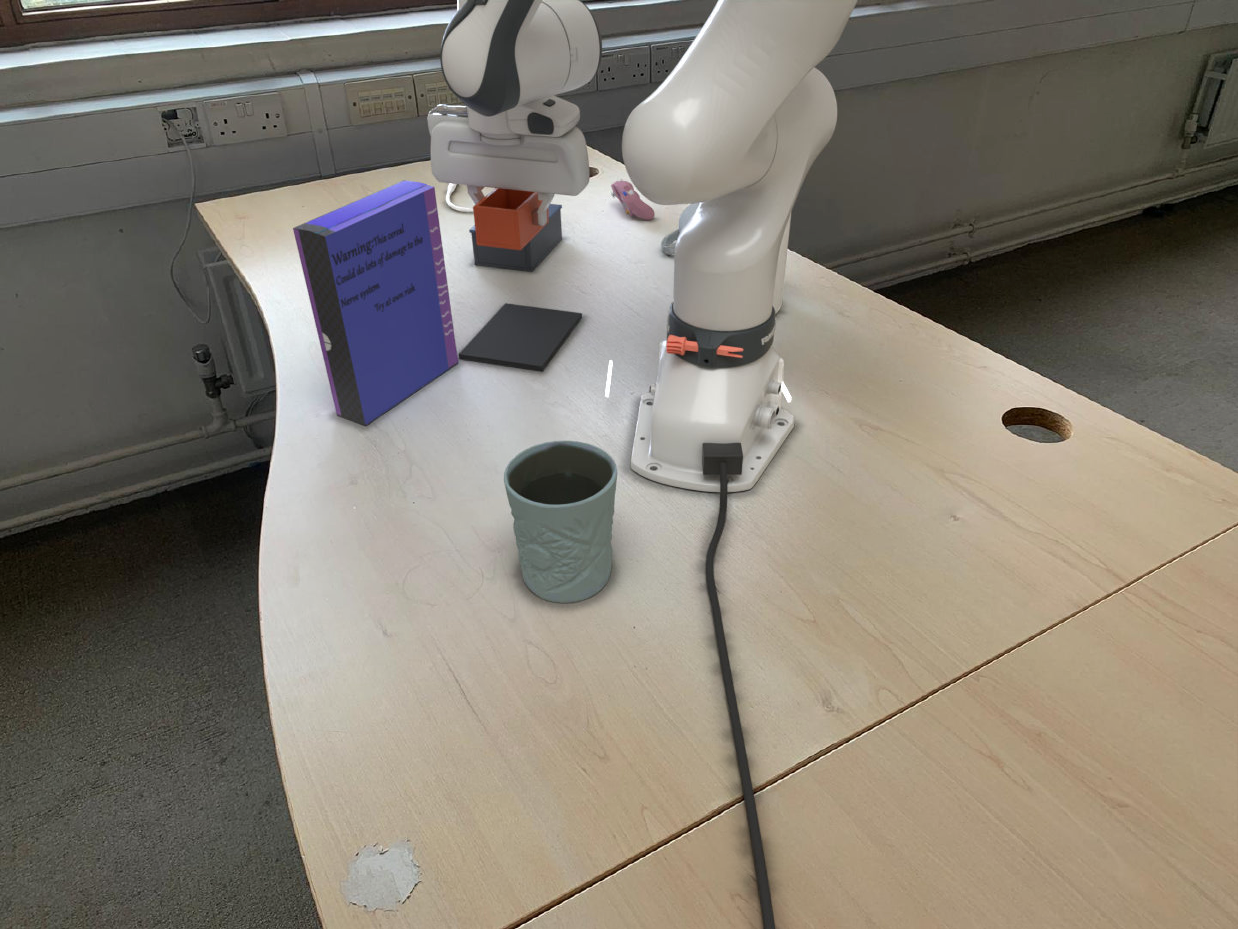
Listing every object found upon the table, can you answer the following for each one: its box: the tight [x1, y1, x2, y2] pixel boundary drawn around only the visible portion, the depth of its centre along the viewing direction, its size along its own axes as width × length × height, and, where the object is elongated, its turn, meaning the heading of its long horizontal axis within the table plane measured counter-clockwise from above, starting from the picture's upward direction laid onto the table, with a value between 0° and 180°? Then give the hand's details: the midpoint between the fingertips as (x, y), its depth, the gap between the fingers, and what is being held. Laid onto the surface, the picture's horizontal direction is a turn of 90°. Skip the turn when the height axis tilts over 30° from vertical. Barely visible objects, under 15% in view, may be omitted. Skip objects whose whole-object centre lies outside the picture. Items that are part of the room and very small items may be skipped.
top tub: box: [472, 188, 549, 250], centre depth 115 cm, size 10×6×5 cm, turn 163°
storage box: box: [468, 203, 563, 272], centre depth 148 cm, size 14×10×6 cm
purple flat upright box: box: [292, 179, 459, 427], centre depth 108 cm, size 17×5×24 cm, turn 149°
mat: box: [458, 302, 583, 372], centre depth 125 cm, size 16×12×1 cm
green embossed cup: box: [503, 440, 618, 604], centre depth 83 cm, size 10×10×12 cm
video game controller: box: [610, 178, 655, 221], centre depth 162 cm, size 10×5×7 cm, turn 17°
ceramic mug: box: [660, 203, 699, 256], centre depth 147 cm, size 11×8×8 cm
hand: (513, 221), depth 116 cm, fingers closed on top tub, 6 cm apart
